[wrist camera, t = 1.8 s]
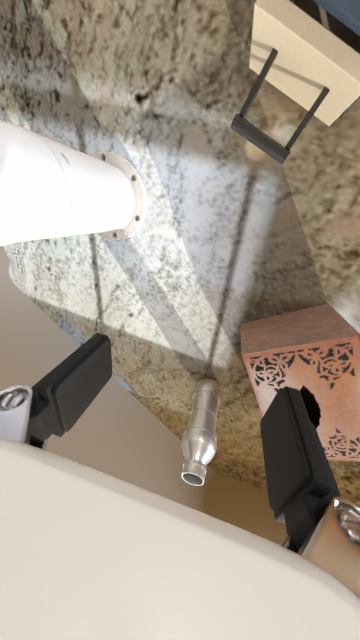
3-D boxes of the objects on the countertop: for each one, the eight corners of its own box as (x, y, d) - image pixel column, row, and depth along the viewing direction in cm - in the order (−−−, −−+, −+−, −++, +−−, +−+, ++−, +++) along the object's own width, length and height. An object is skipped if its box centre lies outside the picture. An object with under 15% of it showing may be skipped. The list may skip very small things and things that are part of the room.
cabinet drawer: (288, 182, 26) (306, 170, 19) (217, 132, 25) (210, 102, 19) (475, -78, 16) (652, -294, 9) (364, -170, 15) (463, -471, 9)
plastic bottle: (190, 386, 49) (166, 476, 32) (203, 369, 46) (183, 461, 29) (212, 398, 49) (200, 495, 32) (227, 383, 46) (222, 482, 29)
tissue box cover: (240, 323, 38) (241, 354, 29) (327, 303, 32) (360, 334, 24) (269, 414, 47) (276, 458, 38) (341, 410, 41) (368, 461, 33)
